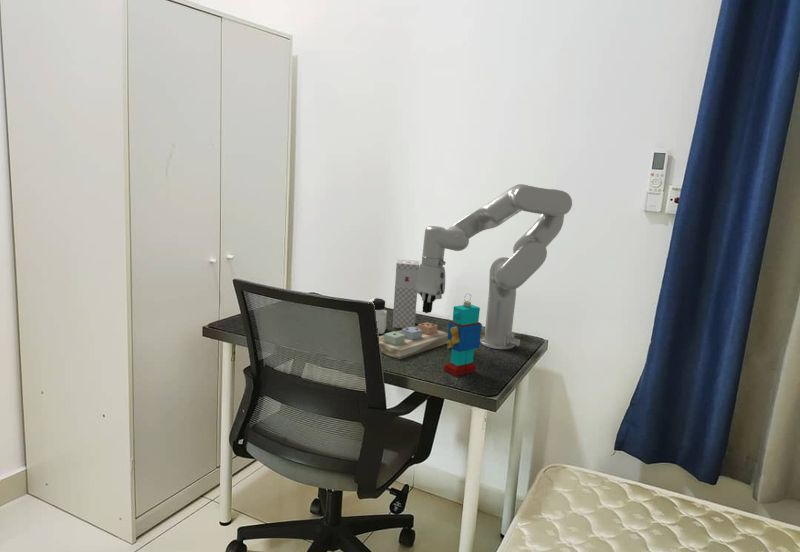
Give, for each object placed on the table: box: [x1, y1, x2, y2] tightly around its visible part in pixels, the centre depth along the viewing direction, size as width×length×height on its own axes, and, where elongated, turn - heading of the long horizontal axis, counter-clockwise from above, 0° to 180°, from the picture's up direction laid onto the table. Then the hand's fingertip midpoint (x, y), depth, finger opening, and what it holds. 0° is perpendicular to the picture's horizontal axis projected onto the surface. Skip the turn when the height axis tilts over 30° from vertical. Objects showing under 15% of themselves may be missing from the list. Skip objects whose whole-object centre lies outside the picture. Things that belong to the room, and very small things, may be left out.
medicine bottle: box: [368, 297, 388, 335], centre depth 209 cm, size 7×7×12 cm
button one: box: [383, 330, 405, 346], centre depth 189 cm, size 5×5×3 cm
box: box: [392, 259, 420, 329], centre depth 217 cm, size 8×8×25 cm
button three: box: [417, 321, 438, 335], centre depth 203 cm, size 5×5×3 cm
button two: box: [401, 327, 422, 340], centre depth 196 cm, size 5×5×3 cm
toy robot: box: [443, 293, 484, 377], centre depth 172 cm, size 12×6×25 cm, turn 127°
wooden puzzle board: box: [378, 325, 448, 360], centre depth 196 cm, size 14×28×3 cm, turn 139°
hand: (426, 312), depth 201 cm, fingers closed
